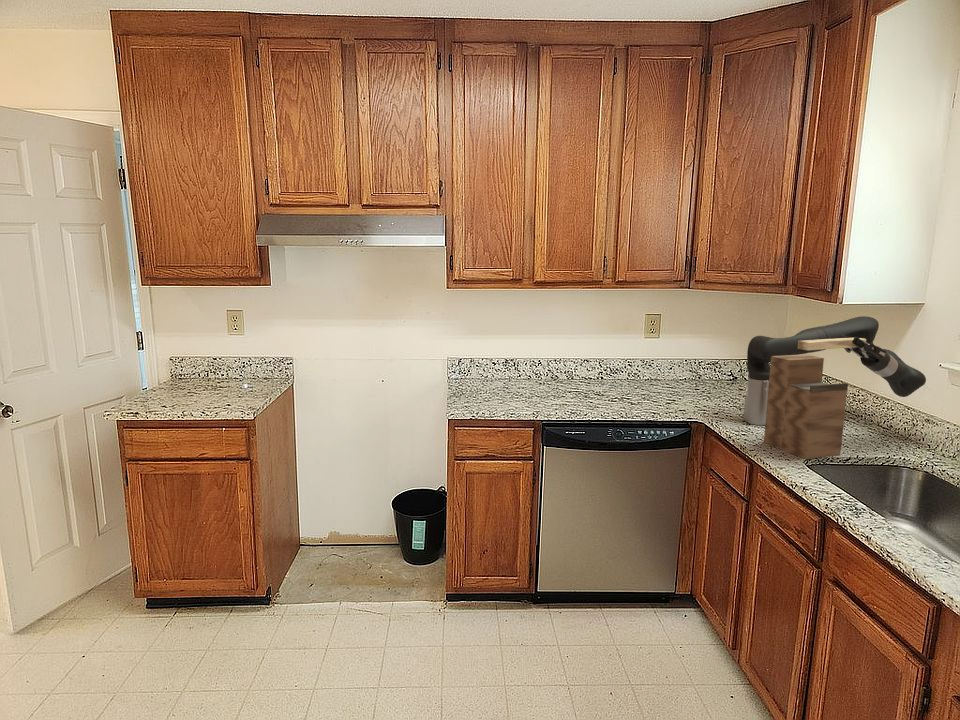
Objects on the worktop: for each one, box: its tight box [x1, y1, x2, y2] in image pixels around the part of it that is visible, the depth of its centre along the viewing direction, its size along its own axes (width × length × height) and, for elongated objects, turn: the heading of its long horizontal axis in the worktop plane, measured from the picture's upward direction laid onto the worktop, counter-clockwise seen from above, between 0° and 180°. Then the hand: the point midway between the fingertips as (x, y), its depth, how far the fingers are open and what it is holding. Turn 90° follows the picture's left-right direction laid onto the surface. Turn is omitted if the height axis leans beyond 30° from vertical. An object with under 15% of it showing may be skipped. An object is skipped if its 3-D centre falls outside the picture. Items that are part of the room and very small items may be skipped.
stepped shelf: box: [763, 353, 849, 460], centre depth 203 cm, size 18×14×30 cm
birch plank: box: [798, 338, 866, 351], centre depth 200 cm, size 4×24×2 cm, turn 108°
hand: (848, 338), depth 202 cm, fingers closed on birch plank, 4 cm apart
